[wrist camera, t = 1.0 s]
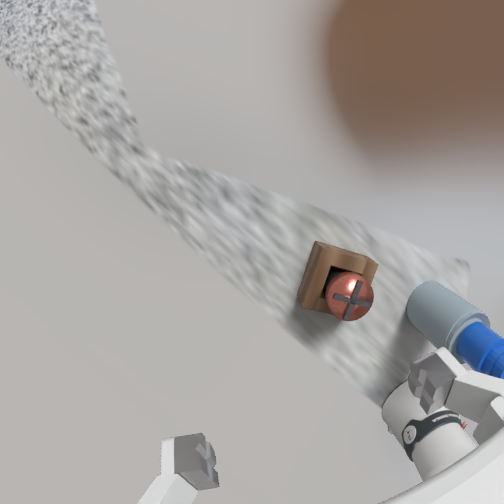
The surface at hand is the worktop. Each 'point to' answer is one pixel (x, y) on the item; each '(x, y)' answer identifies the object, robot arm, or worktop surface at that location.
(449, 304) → the spray bottle
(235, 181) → the worktop surface
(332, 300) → the copper cross-head bolt
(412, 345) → the worktop surface
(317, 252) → the block
